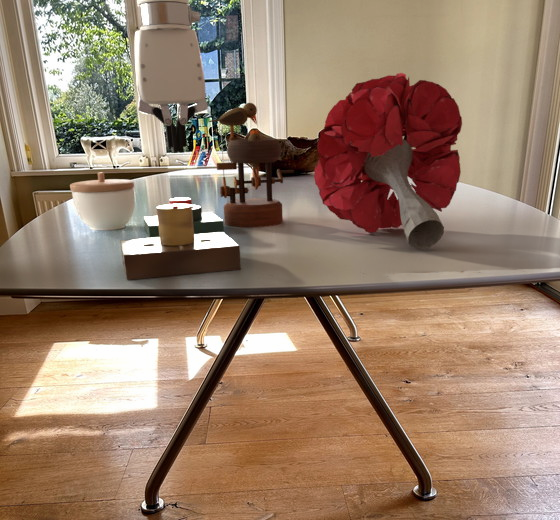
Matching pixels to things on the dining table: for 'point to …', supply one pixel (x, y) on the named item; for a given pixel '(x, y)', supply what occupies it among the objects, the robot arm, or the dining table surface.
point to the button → (181, 201)
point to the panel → (179, 256)
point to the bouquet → (391, 157)
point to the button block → (201, 223)
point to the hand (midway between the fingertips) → (177, 152)
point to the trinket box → (104, 202)
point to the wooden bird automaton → (254, 152)
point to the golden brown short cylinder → (175, 224)
